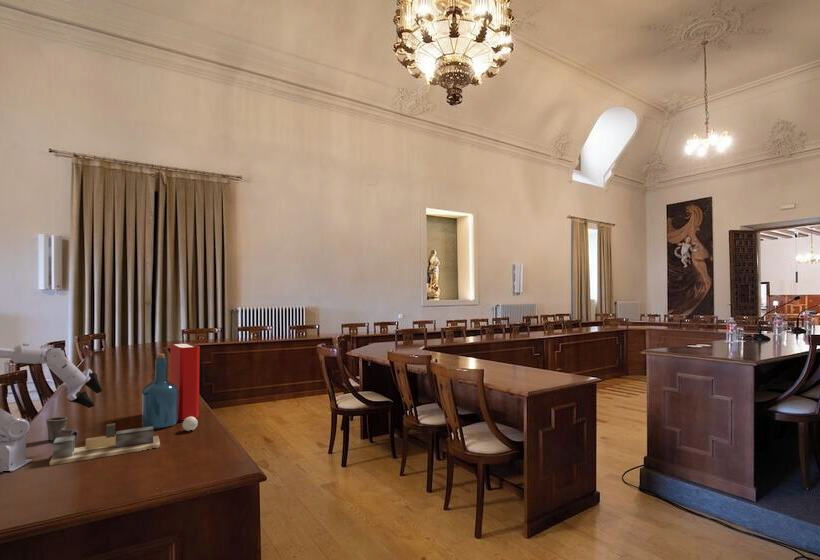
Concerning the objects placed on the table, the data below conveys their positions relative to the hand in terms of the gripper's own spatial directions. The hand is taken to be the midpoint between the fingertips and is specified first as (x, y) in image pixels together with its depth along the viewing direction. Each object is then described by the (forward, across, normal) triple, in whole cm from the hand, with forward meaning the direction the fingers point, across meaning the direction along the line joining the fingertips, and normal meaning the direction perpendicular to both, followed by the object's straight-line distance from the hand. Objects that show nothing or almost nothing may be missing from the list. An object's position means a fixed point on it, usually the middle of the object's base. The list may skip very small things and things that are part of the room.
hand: (95, 399), depth 163 cm
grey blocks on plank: (+12, -17, -3) cm, 21 cm away
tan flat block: (+12, -15, -6) cm, 20 cm away
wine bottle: (+29, +9, -3) cm, 31 cm away
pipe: (+11, -1, +22) cm, 24 cm away
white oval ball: (+31, 0, -20) cm, 37 cm away
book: (+40, +25, -4) cm, 47 cm away
